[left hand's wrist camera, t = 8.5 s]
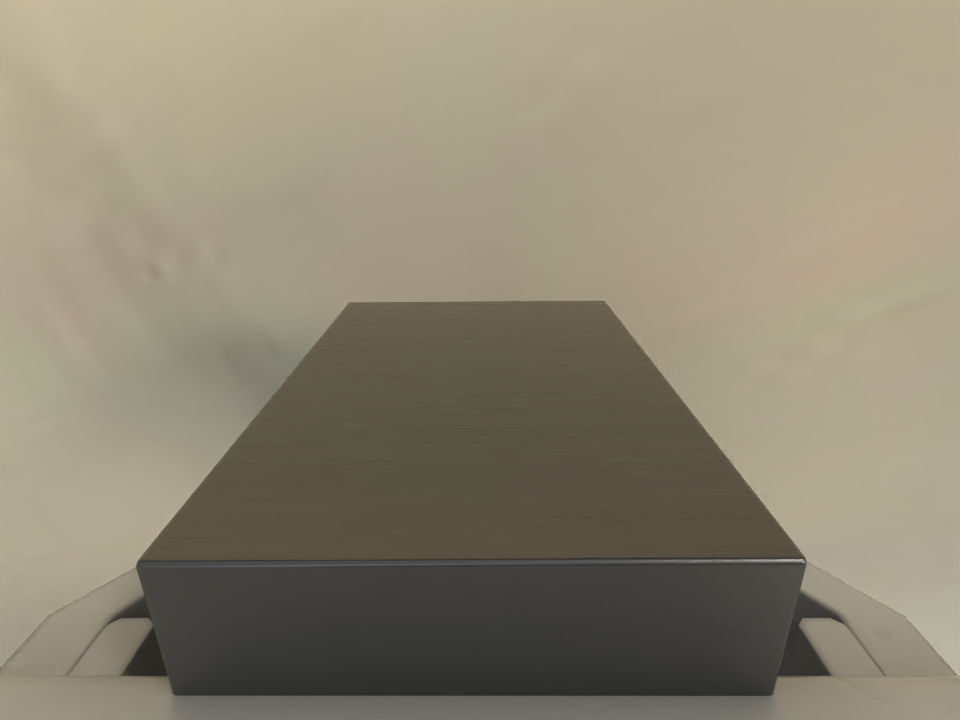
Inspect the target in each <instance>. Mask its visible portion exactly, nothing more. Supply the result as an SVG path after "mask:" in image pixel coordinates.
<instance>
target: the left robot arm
mask: <svg viewBox="0 0 960 720" xmlns="http://www.w3.org/2000/svg"><path fill="white" fill-rule="evenodd" d="M806 563H807V565H806V569H805V573H804V577H803V581H802V585H801V588H800V592H799V596H798V600H797V604H796V608H795V612H794V616H793V619H792V623H791V627H790V631H789V635H788V639H787V643H786V646H785V650H784V654H783V658H782V662H781V666H780V670H779V674H778V677H777V681H776V685H775V689H774V693H773V695H771V696H176V695H174V694H173V692H172V689H171V686H170V682H169V679H168V675H167V672H166V668H165V665H164V661H163V658H162V655H161V651H160V648H159V644H158V641H157V637H156V634H155V631H154V627H153V624H152V620H151V617H150V613H149V610H148V607H147V603H146V600H145V596H144V593H143V589H142V586H141V582H140V579H139V576H138V572H137V569H136V568H134V569H132V570H130V571H129V572H127V573H125V574H123V575H121V576H120V577H118V578H116V579H114V580H112V581H110V582H109V583H107V584H105V585H103V586H101V587H100V588H98V589H96V590H94V591H92V592H90V593H89V594H87V595H85V596H83V597H81V598H80V599H78V600H76V601H74V602H72V603H70V604H69V605H67V606H65V607H63V608H61V609H60V610H58V611H56V612H54V613H52V614H50V615H49V616H48V617H47V618H46V619H45V620H44V621H43V622H42V623H41V624H40V625H39V627H38V628H37V629H36V630H35V631H34V632H33V633H32V634H31V635H30V636H29V637H28V639H27V640H26V641H25V642H24V643H23V644H22V645H21V646H20V647H19V648H18V650H17V651H16V652H15V653H14V654H13V655H12V656H11V657H10V658H9V659H8V661H7V662H6V663H5V664H4V665H3V666H2V667H1V668H0V720H960V676H958V675H957V674H956V673H955V672H954V671H953V670H952V669H951V667H950V666H949V665H948V664H947V663H946V662H945V661H944V660H943V658H942V657H941V656H940V655H939V654H938V653H937V652H936V651H935V650H934V648H933V647H932V646H931V645H930V644H929V643H928V642H927V641H926V639H925V638H924V637H923V636H922V635H921V634H920V633H919V632H918V630H917V629H916V628H915V627H914V626H913V625H912V624H911V623H910V621H909V620H908V619H907V618H906V617H905V616H903V615H902V614H900V613H898V612H896V611H894V610H893V609H891V608H889V607H887V606H885V605H884V604H882V603H880V602H878V601H876V600H875V599H873V598H871V597H869V596H867V595H866V594H864V593H862V592H860V591H858V590H857V589H855V588H853V587H851V586H849V585H848V584H846V583H844V582H842V581H840V580H839V579H837V578H835V577H833V576H832V575H830V574H828V573H826V572H824V571H823V570H821V569H819V568H817V567H815V566H814V565H812V564H810V563H808V562H806Z"/></svg>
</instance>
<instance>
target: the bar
mask: <svg viewBox="0 0 960 720" xmlns="http://www.w3.org/2000/svg"><path fill="white" fill-rule="evenodd" d="M806 565H807V563H806V559H805V557H804V555H803V554H802V553H801V552H800V550H799V549H798V548H797V546H796V545H795V544H794V543H793V541H792V540H791V539H790V538H789V536H788V535H787V534H786V532H785V531H784V530H783V529H782V527H781V526H780V525H779V523H778V522H777V521H776V520H775V518H774V517H773V516H772V515H771V513H770V512H769V511H768V509H767V508H766V507H765V506H764V504H763V503H762V502H761V500H760V499H759V498H758V497H757V495H756V494H755V493H754V492H753V490H752V489H751V488H750V486H749V485H748V484H747V483H746V481H745V480H744V479H743V477H742V476H741V475H740V474H739V472H738V471H737V470H736V468H735V467H734V466H733V465H732V463H731V462H730V461H729V460H728V458H727V457H726V456H725V454H724V453H723V452H722V451H721V449H720V448H719V447H718V445H717V444H716V443H715V442H714V440H713V439H712V438H711V437H710V435H709V434H708V433H707V431H706V430H705V429H704V428H703V426H702V425H701V424H700V422H699V421H698V420H697V419H696V417H695V416H694V415H693V414H692V412H691V411H690V410H689V408H688V407H687V406H686V405H685V403H684V402H683V401H682V399H681V398H680V397H679V396H678V394H677V393H676V392H675V391H674V389H673V388H672V387H671V385H670V384H669V383H668V382H667V380H666V379H665V378H664V376H663V375H662V374H661V373H660V371H659V370H658V369H657V368H656V366H655V365H654V364H653V362H652V361H651V360H650V359H649V357H648V356H647V355H646V353H645V352H644V351H643V350H642V348H641V347H640V346H639V345H638V343H637V342H636V341H635V339H634V338H633V337H632V336H631V334H630V333H629V332H628V330H627V329H626V328H625V327H624V325H623V324H622V323H621V321H620V320H619V319H618V318H617V316H616V315H615V314H614V313H613V311H612V310H611V309H610V307H609V306H608V305H607V304H606V302H605V301H514V302H363V303H349V304H348V305H347V306H346V307H345V308H344V310H343V311H342V312H341V313H340V315H339V316H338V317H337V318H336V319H335V321H334V322H333V323H332V324H331V326H330V327H329V328H328V329H327V330H326V332H325V333H324V334H323V335H322V337H321V338H320V339H319V340H318V341H317V343H316V344H315V345H314V346H313V348H312V349H311V350H310V351H309V352H308V354H307V355H306V356H305V357H304V359H303V360H302V361H301V362H300V363H299V365H298V366H297V367H296V368H295V370H294V371H293V372H292V373H291V374H290V376H289V377H288V378H287V379H286V381H285V382H284V383H283V384H282V385H281V387H280V388H279V389H278V390H277V392H276V393H275V394H274V395H273V396H272V398H271V399H270V400H269V401H268V403H267V404H266V405H265V406H264V407H263V409H262V410H261V411H260V412H259V414H258V415H257V416H256V417H255V418H254V420H253V421H252V422H251V423H250V425H249V426H248V427H247V428H246V429H245V431H244V432H243V433H242V434H241V436H240V437H239V438H238V439H237V440H236V442H235V443H234V444H233V445H232V447H231V448H230V449H229V450H228V451H227V453H226V454H225V455H224V456H223V458H222V459H221V460H220V461H219V462H218V464H217V465H216V466H215V467H214V469H213V470H212V471H211V472H210V473H209V475H208V476H207V477H206V478H205V480H204V481H203V482H202V483H201V484H200V486H199V487H198V488H197V489H196V491H195V492H194V493H193V494H192V495H191V497H190V498H189V499H188V500H187V501H186V503H185V504H184V505H183V506H182V508H181V509H180V510H179V511H178V512H177V514H176V515H175V516H174V517H173V519H172V520H171V521H170V522H169V523H168V525H167V526H166V527H165V528H164V530H163V531H162V532H161V533H160V534H159V536H158V537H157V538H156V539H155V541H154V542H153V543H152V544H151V545H150V547H149V548H148V549H147V550H146V552H145V553H144V554H143V555H142V556H141V558H140V559H139V560H138V562H137V566H136V569H137V572H138V576H139V579H140V582H141V586H142V589H143V593H144V596H145V600H146V603H147V607H148V610H149V613H150V617H151V620H152V624H153V627H154V631H155V634H156V637H157V641H158V644H159V648H160V651H161V655H162V658H163V661H164V665H165V668H166V672H167V675H168V679H169V682H170V686H171V689H172V692H173V694H174V695H176V696H771V695H773V693H774V689H775V685H776V681H777V677H778V674H779V670H780V666H781V662H782V658H783V654H784V650H785V646H786V643H787V639H788V635H789V631H790V627H791V623H792V619H793V616H794V612H795V608H796V604H797V600H798V596H799V592H800V588H801V585H802V581H803V577H804V573H805V569H806Z"/></svg>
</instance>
